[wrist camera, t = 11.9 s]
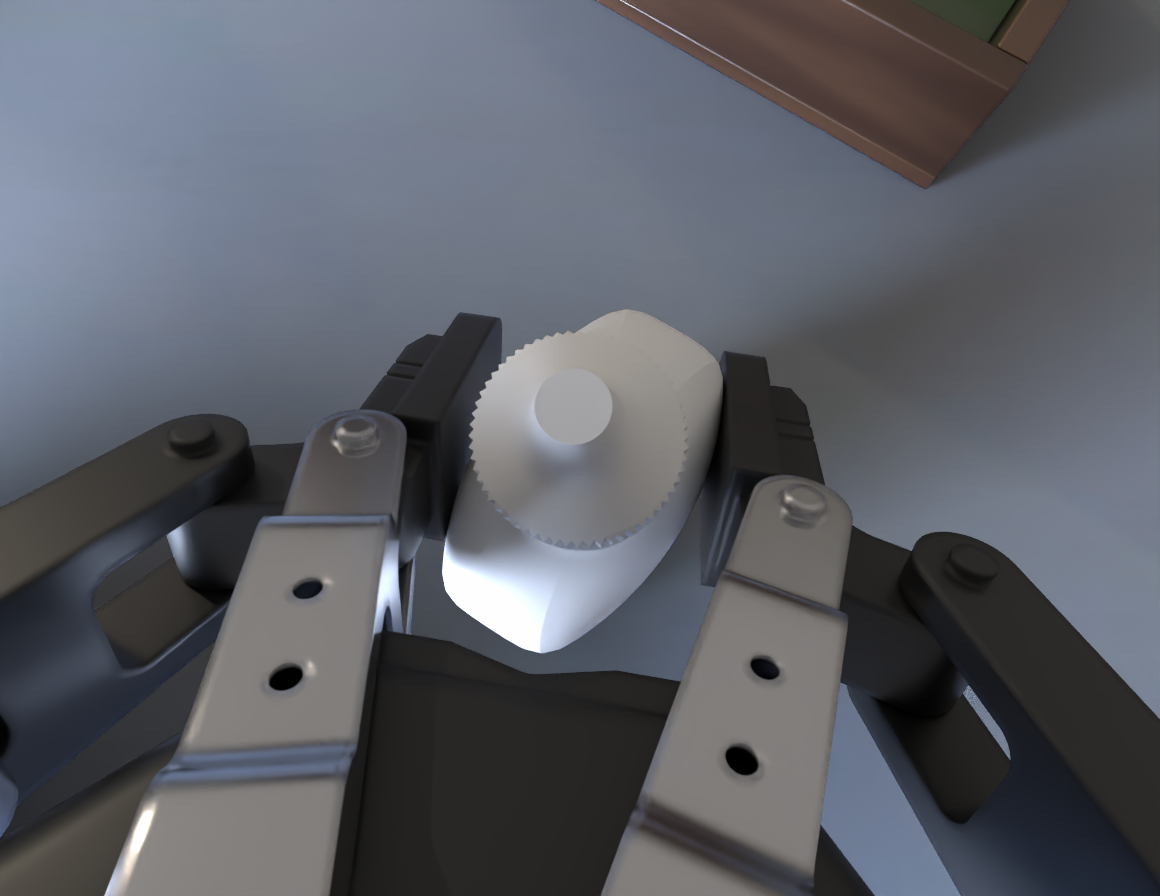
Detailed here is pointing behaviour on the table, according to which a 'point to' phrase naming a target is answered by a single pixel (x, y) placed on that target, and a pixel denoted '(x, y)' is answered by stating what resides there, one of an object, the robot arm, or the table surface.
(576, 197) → the table surface
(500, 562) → the eye dropper bottle
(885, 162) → the brown wooden divided tray
